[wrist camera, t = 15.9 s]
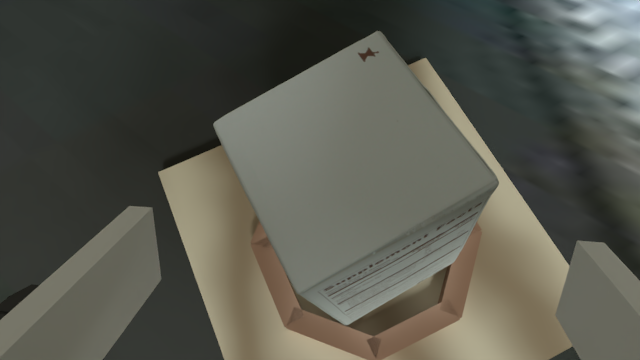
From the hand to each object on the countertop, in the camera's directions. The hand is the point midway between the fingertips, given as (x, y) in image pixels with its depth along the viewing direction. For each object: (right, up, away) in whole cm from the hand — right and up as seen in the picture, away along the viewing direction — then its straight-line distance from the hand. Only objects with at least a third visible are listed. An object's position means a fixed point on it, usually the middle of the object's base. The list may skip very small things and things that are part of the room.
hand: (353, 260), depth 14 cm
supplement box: (+2, -1, +12) cm, 12 cm away
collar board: (+2, -2, +14) cm, 14 cm away
